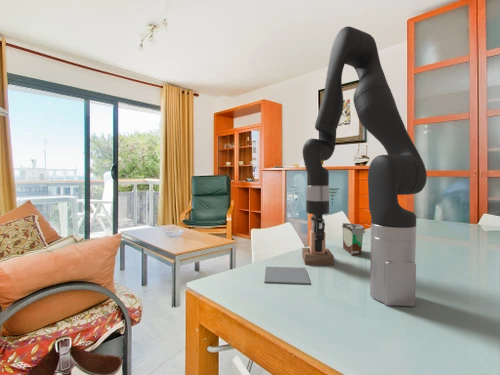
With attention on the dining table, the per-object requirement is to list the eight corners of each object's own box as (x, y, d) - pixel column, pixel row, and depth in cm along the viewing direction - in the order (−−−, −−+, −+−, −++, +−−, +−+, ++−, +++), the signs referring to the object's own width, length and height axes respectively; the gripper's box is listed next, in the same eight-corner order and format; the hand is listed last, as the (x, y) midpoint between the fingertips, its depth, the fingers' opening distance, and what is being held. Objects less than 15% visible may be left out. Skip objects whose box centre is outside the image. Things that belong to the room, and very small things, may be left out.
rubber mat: (310, 284, 71) (310, 282, 71) (264, 282, 72) (264, 281, 72) (305, 269, 83) (305, 267, 83) (265, 267, 84) (265, 266, 84)
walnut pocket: (333, 265, 86) (333, 255, 86) (305, 264, 87) (305, 255, 87) (328, 257, 95) (328, 248, 95) (302, 256, 96) (302, 247, 96)
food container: (370, 256, 96) (370, 228, 95) (352, 256, 96) (353, 228, 95) (357, 247, 108) (357, 223, 108) (341, 247, 108) (342, 222, 108)
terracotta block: (325, 262, 89) (325, 232, 89) (311, 262, 89) (311, 232, 89) (322, 258, 93) (322, 230, 93) (309, 258, 94) (309, 229, 93)
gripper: (333, 201, 83) (333, 256, 84) (325, 197, 97) (324, 244, 98) (309, 200, 84) (308, 255, 84) (304, 197, 98) (303, 244, 99)
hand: (317, 249), depth 91 cm, fingers closed on terracotta block, 4 cm apart
